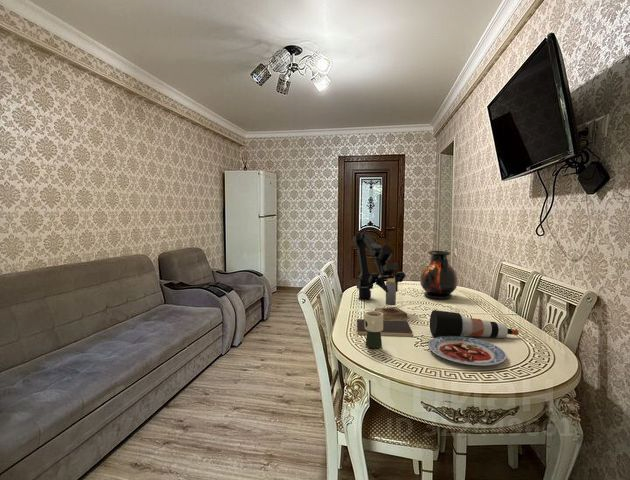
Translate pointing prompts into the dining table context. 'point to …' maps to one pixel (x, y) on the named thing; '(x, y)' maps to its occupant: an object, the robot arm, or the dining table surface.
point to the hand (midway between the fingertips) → (392, 291)
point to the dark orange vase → (438, 277)
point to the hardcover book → (388, 328)
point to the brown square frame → (389, 315)
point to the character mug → (373, 328)
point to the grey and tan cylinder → (391, 291)
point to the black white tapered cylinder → (466, 326)
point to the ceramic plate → (467, 350)
